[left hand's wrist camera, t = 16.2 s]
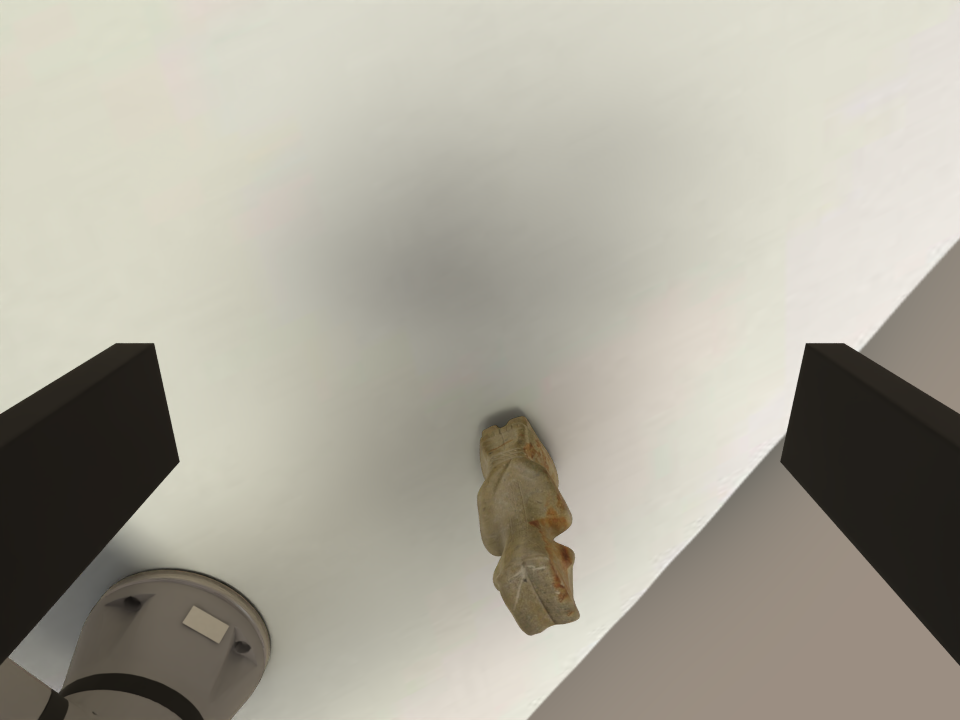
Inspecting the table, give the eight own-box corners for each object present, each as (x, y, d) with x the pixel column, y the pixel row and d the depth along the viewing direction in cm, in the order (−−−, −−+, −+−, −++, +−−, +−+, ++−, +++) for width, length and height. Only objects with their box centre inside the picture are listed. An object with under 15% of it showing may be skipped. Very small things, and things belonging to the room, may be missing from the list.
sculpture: (496, 498, 47) (502, 656, 33) (464, 421, 45) (457, 558, 31) (567, 476, 46) (604, 629, 32) (538, 397, 44) (566, 526, 30)
